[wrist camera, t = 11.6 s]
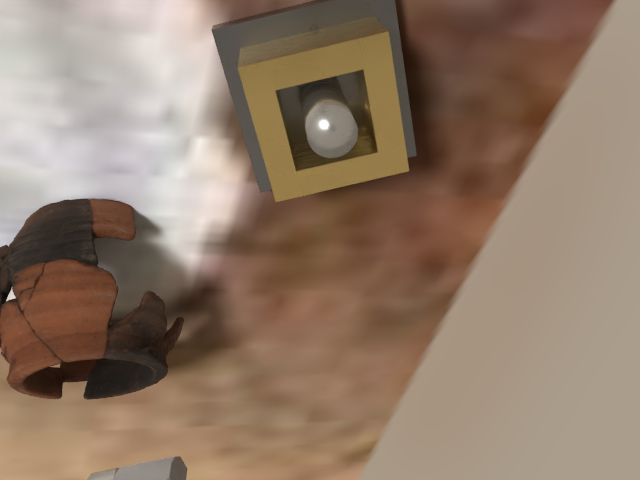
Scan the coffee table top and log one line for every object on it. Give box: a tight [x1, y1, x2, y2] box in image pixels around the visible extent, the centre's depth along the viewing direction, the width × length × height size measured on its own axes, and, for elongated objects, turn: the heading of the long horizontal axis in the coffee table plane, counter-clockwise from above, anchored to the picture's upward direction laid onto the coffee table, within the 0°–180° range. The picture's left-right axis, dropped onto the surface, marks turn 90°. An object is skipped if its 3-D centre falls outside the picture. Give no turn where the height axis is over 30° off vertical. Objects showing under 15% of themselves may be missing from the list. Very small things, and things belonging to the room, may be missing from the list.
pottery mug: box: [0, 199, 184, 399], centre depth 30 cm, size 12×10×8 cm
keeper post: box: [212, 0, 417, 193], centre depth 25 cm, size 8×8×6 cm
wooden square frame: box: [238, 16, 409, 202], centre depth 26 cm, size 6×6×4 cm
